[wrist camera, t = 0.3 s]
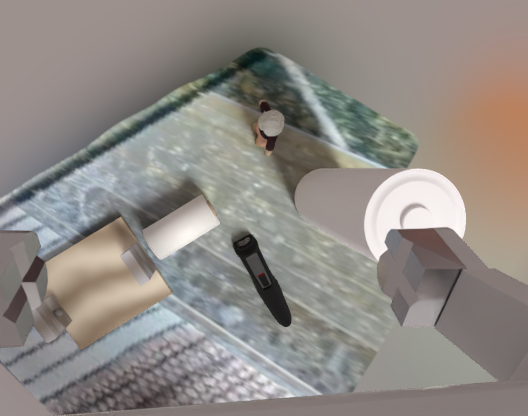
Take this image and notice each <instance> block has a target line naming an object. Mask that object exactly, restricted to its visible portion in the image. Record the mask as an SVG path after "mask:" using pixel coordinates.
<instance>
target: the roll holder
mask: <svg viewBox="0 0 528 416" xmlns="http://www.w3.org/2000/svg"><path fill="white" fill-rule="evenodd" d="M45 264H46V268H47V274H48V284H47V290H46V295H45V297H44V300H43V302H42V304H41V305H40V306H39V307H37V308H36V309H35V310H33V311H32V314H33V317H34V320H35V321H34V323H33V325H34V327H35V328H36V329H37V331H38V332H39V333H40V335H41V336H42V337H43V339H44V340H45V341H46V343H47V344H48V343H49V342H51V341H53V340H54V339H56V338H57V337H58V336H59V335H60V334H61V333H62V332H63V331H64V330H65V329H66V330H67V331H68V333H69V334H70V335H71V337H72V338H73V340H74V341H75V342H76V344H77V345H78V346H79V348H80V349H81V350H82V349H84V348H85V347H87V346H88V345H90V344H92V343H93V342H95V341H96V340H98V339H100V338H101V337H103V336H105V335H106V334H108V333H109V332H111V331H113V330H114V329H116V328H117V327H119V326H121V325H122V324H124V323H125V322H127V321H129V320H130V319H132V318H133V317H135V316H137V315H138V314H140V313H141V312H143V311H145V310H146V309H148V308H149V307H151V306H153V305H154V304H156V303H157V302H159V301H161V300H162V299H164V298H166V297H167V296H169V295H170V294H172V292H173V291H172V289H171V288H170V287H169V285H168V284H167V282H166V281H165V279H164V278H163V276H162V275H161V273H160V272H159V270H158V269H157V267H156V266H155V264H154V263H153V261H152V260H151V258H150V257H149V255H148V254H147V252H146V251H145V249H144V248H143V246H142V245H141V243H140V242H139V240H138V239H137V237H136V236H135V234H134V233H133V232H132V230H131V229H130V227H129V226H128V224H127V223H126V221H125V220H124V218H123V217H122V216H121V217H120V218H118V219H116V220H115V221H113V222H111V223H110V224H108V225H106V226H105V227H103V228H101V229H100V230H98V231H96V232H95V233H93V234H91V235H90V236H88V237H86V238H85V239H83V240H82V241H80V242H78V243H77V244H75V245H73V246H72V247H70V248H68V249H67V250H65V251H63V252H62V253H60V254H58V255H57V256H55V257H53V258H52V259H50V260H48V261H47V262H45Z"/></svg>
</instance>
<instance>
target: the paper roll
mask: <svg viewBox="0 0 528 416" xmlns="http://www.w3.org/2000/svg"><path fill="white" fill-rule="evenodd" d="M216 216H217V214H216V212H215V210H214V209H213V207H212V205H211V204H210V202H209V201H206V199H205V198H204V196H203V195H202V194H201V195H200V196H198V197H196V198H195V199H193V200H191V201H190V202H188V203H186V204H185V205H183V206H181V207H180V208H178V209H177V210H175V211H173V212H172V213H170V214H168V215H167V216H165V217H163V218H162V219H160V220H158V221H157V222H155V223H154V224H152V225H150V226H149V227H147V228H145V229H144V230H143V236H144V238H145V240H146V242H147V244H148V246H149V247H150V249H151V250H152V251H153V253H154V254H155V255H156V256H157V257H158V258H159V259H161V260H162V259H164V258H166V257H167V256H169V255H170V254H172V253H174V252H175V251H177V250H179V249H180V248H182V247H183V246H185V245H187V244H188V243H190V242H192V241H193V240H195V239H196V238H198V237H200V236H201V235H203V234H205V233H206V232H208V231H209V230H211V229H213V228H214V227H216V226H218V225H219V224H220V222H219V220H218V218H217V217H216Z"/></svg>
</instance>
